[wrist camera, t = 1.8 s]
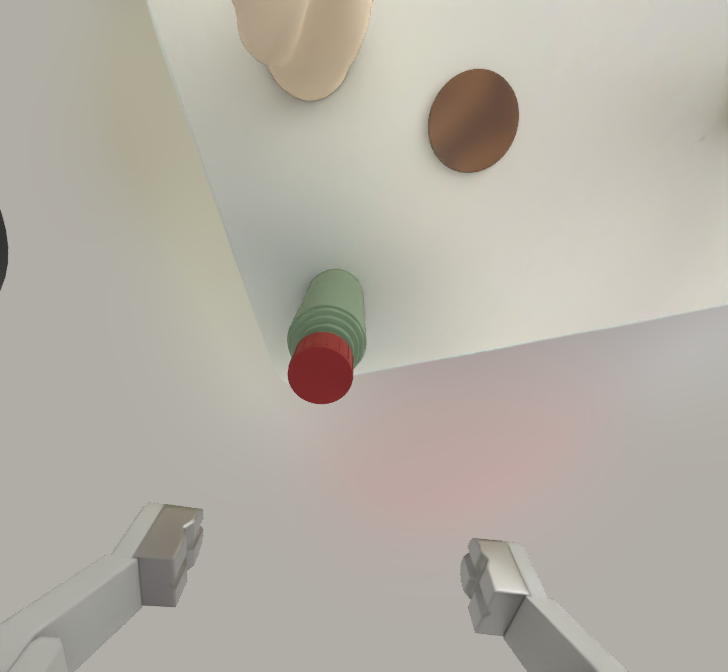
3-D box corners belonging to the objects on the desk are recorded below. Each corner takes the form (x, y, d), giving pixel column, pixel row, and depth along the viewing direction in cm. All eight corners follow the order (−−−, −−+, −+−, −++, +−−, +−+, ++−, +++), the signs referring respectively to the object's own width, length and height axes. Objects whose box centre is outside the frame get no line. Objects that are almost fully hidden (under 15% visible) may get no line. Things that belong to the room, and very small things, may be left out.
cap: (285, 371, 26) (277, 390, 23) (307, 321, 24) (301, 336, 22) (339, 392, 26) (337, 413, 24) (363, 345, 25) (364, 362, 22)
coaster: (412, 147, 34) (413, 147, 34) (456, 51, 32) (458, 49, 31) (485, 187, 36) (487, 187, 35) (534, 99, 33) (537, 97, 33)
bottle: (299, 309, 40) (259, 394, 24) (320, 259, 38) (293, 313, 22) (349, 330, 42) (344, 425, 25) (372, 283, 39) (384, 352, 23)
